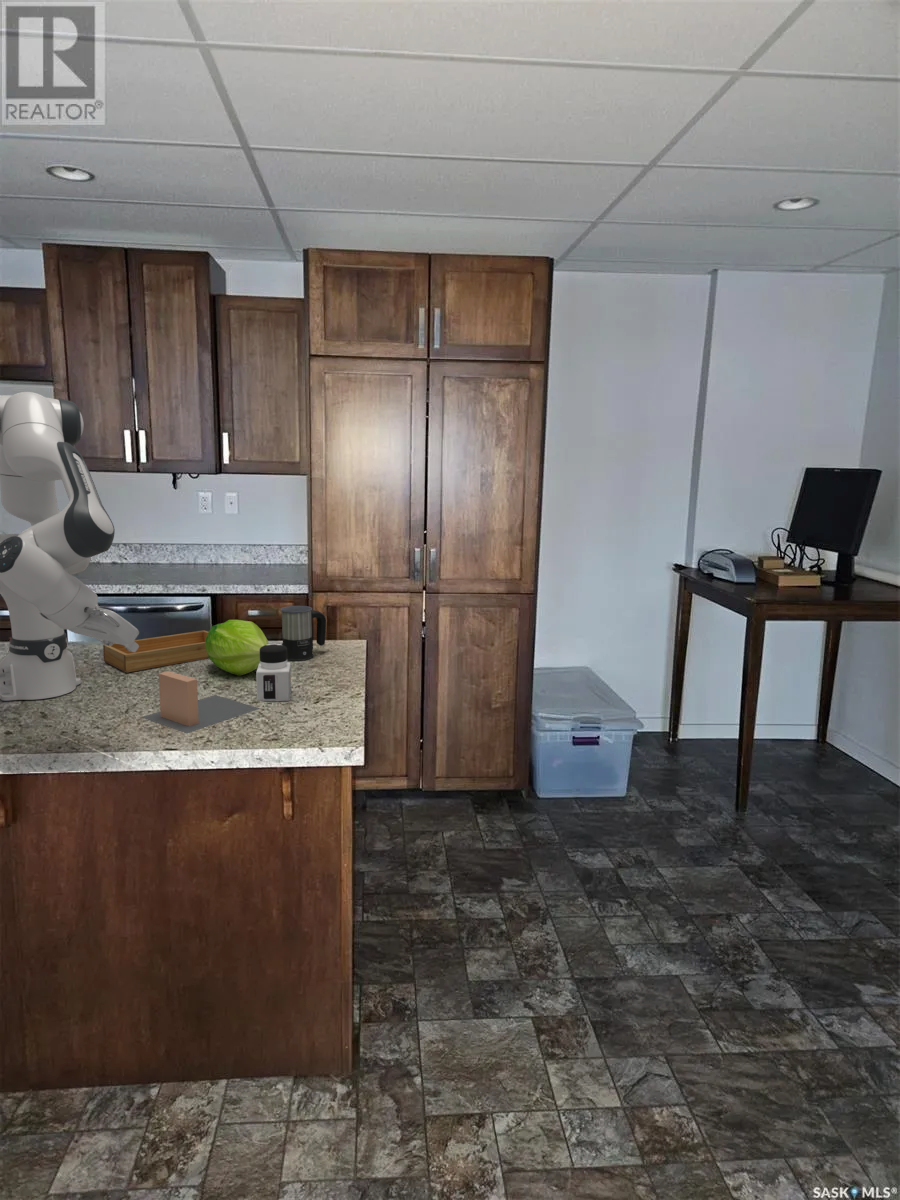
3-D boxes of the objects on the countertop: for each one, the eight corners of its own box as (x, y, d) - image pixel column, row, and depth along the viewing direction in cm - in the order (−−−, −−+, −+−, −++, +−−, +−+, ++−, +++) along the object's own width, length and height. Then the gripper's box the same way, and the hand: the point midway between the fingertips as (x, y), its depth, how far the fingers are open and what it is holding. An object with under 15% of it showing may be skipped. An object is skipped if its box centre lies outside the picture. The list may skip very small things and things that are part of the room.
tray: (205, 646, 228) (204, 628, 227) (230, 656, 218) (229, 637, 217) (103, 664, 206) (102, 644, 205) (126, 675, 196) (125, 655, 195)
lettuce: (291, 668, 202) (246, 688, 189) (236, 654, 214) (191, 673, 202) (284, 618, 197) (238, 636, 185) (229, 607, 210) (183, 623, 198)
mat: (141, 719, 163) (141, 717, 163) (215, 696, 179) (215, 695, 179) (187, 735, 154) (186, 733, 154) (260, 710, 170) (260, 708, 170)
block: (160, 716, 163) (158, 673, 161) (170, 713, 165) (168, 670, 164) (188, 726, 158) (187, 681, 156) (199, 723, 160) (197, 679, 158)
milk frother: (297, 663, 211) (296, 612, 208) (259, 654, 219) (257, 605, 216) (330, 653, 222) (330, 605, 220) (293, 645, 231) (292, 599, 228)
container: (289, 701, 177) (288, 649, 175) (256, 702, 176) (255, 649, 174) (291, 691, 185) (290, 641, 182) (259, 692, 184) (258, 642, 181)
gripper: (114, 598, 134) (164, 640, 144) (54, 586, 145) (104, 626, 155) (92, 626, 131) (144, 667, 141) (33, 612, 142) (85, 651, 152)
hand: (123, 646), depth 148 cm, fingers open, 7 cm apart
